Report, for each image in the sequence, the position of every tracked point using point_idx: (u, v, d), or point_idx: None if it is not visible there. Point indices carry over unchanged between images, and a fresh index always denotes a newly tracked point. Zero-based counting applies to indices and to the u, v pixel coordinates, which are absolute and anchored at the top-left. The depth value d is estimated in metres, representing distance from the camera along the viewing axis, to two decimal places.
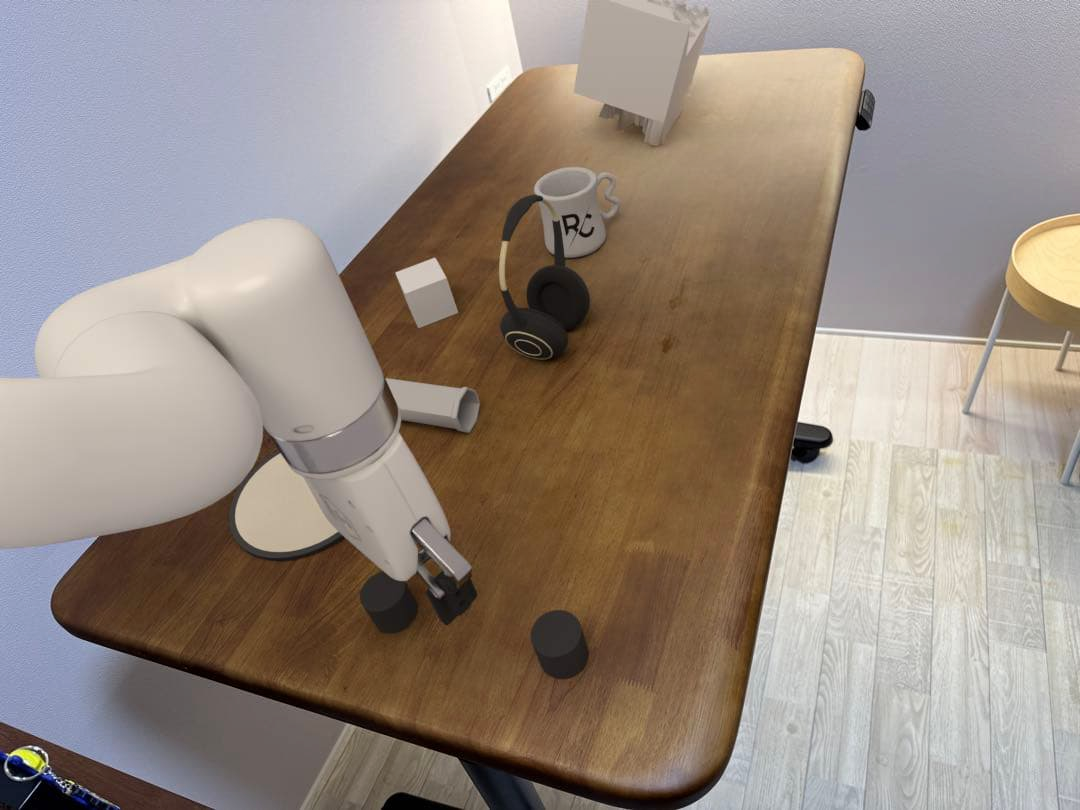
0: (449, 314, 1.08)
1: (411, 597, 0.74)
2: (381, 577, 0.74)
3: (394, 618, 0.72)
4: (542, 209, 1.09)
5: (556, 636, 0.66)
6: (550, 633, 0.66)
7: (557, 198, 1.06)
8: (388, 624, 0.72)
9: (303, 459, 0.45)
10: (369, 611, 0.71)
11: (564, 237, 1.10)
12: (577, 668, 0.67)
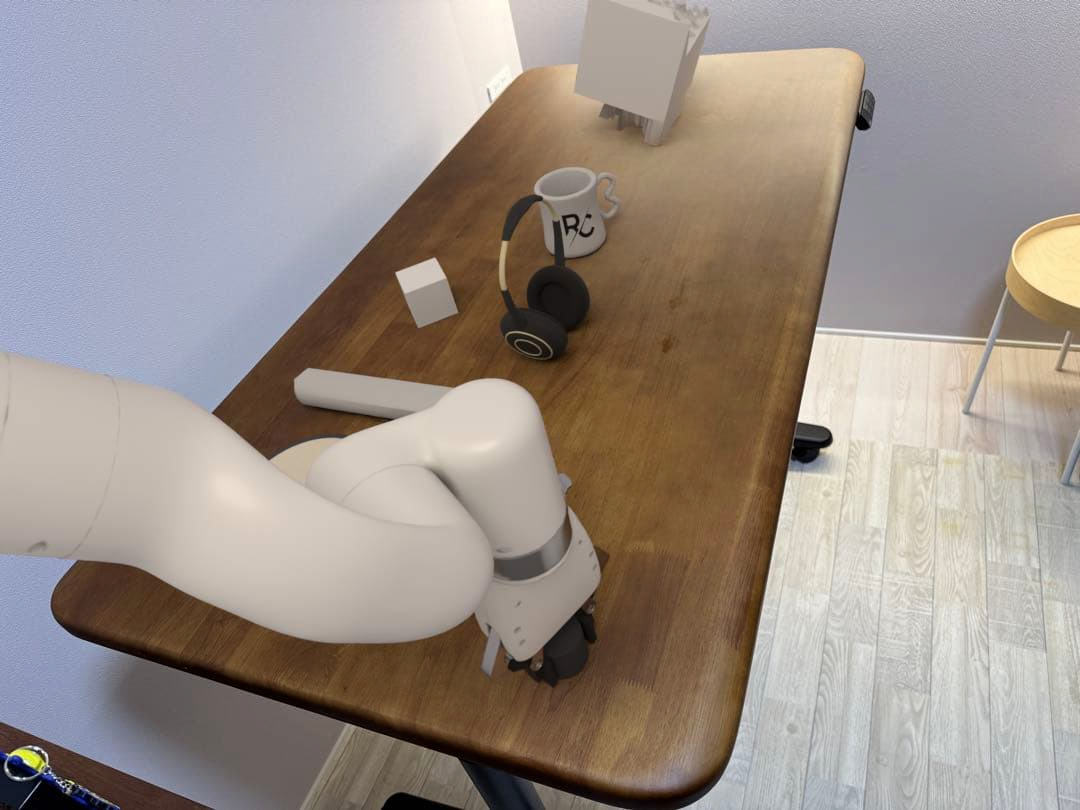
0: (449, 314, 1.08)
1: None
2: None
3: None
4: (542, 209, 1.09)
5: (556, 636, 0.66)
6: None
7: (557, 198, 1.06)
8: None
9: None
10: None
11: (564, 237, 1.10)
12: (577, 668, 0.67)
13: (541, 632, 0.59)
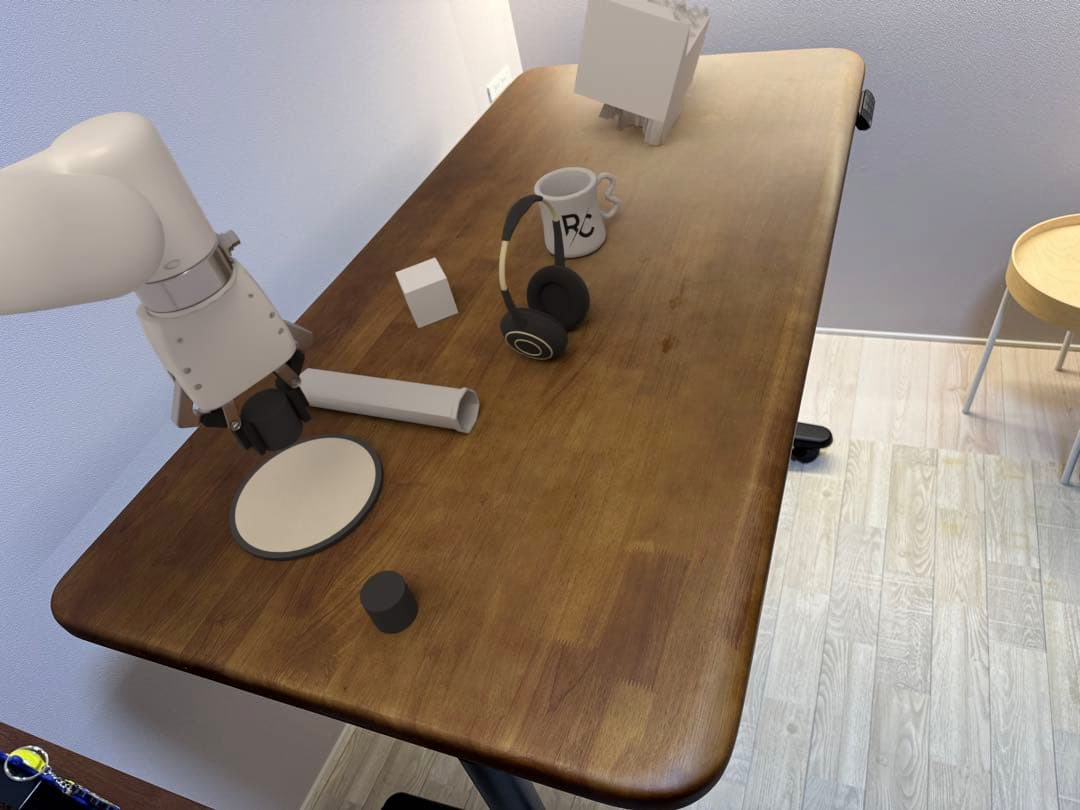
0: (449, 314, 1.08)
1: (411, 597, 0.74)
2: (381, 577, 0.74)
3: (394, 618, 0.72)
4: (542, 209, 1.09)
5: (262, 407, 0.72)
6: (258, 405, 0.72)
7: (557, 198, 1.06)
8: (388, 624, 0.72)
9: None
10: (369, 611, 0.71)
11: (564, 237, 1.10)
12: (285, 439, 0.72)
13: (221, 382, 0.65)
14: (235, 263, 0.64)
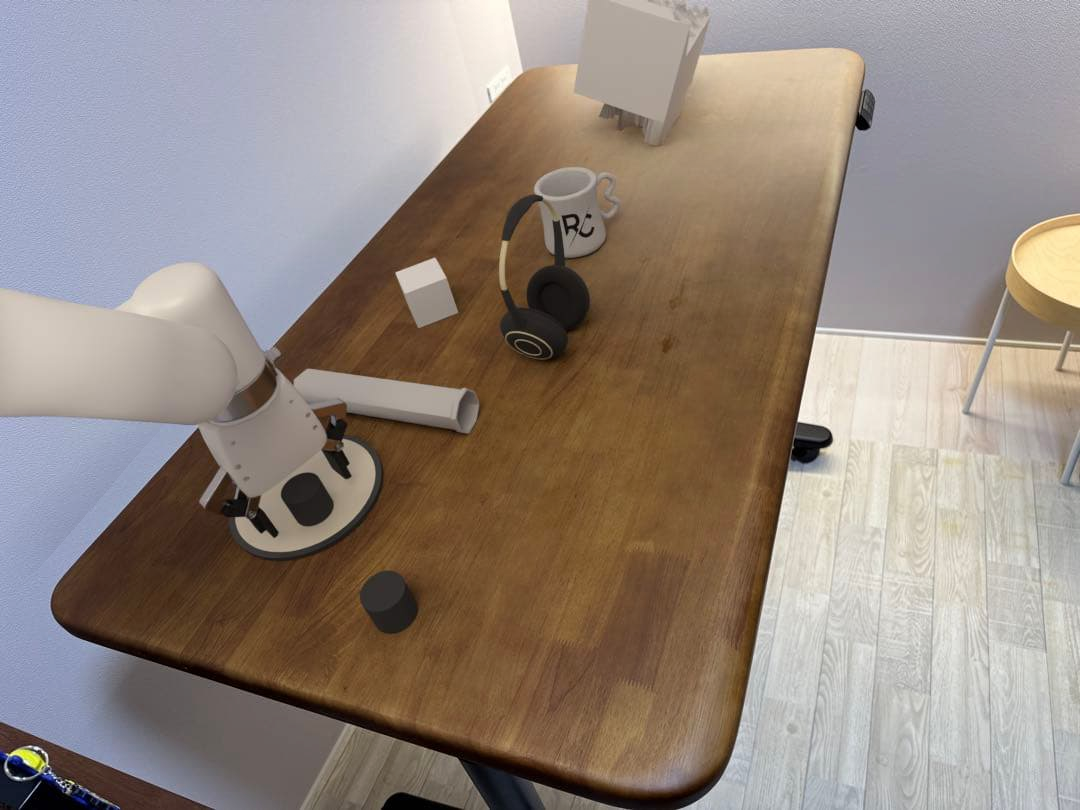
0: (449, 314, 1.08)
1: (411, 597, 0.74)
2: (381, 577, 0.74)
3: (394, 618, 0.72)
4: (542, 209, 1.09)
5: (299, 490, 0.83)
6: (296, 488, 0.84)
7: (557, 198, 1.06)
8: (388, 624, 0.72)
9: None
10: (369, 611, 0.71)
11: (564, 237, 1.10)
12: (319, 517, 0.84)
13: (265, 473, 0.77)
14: (278, 373, 0.76)
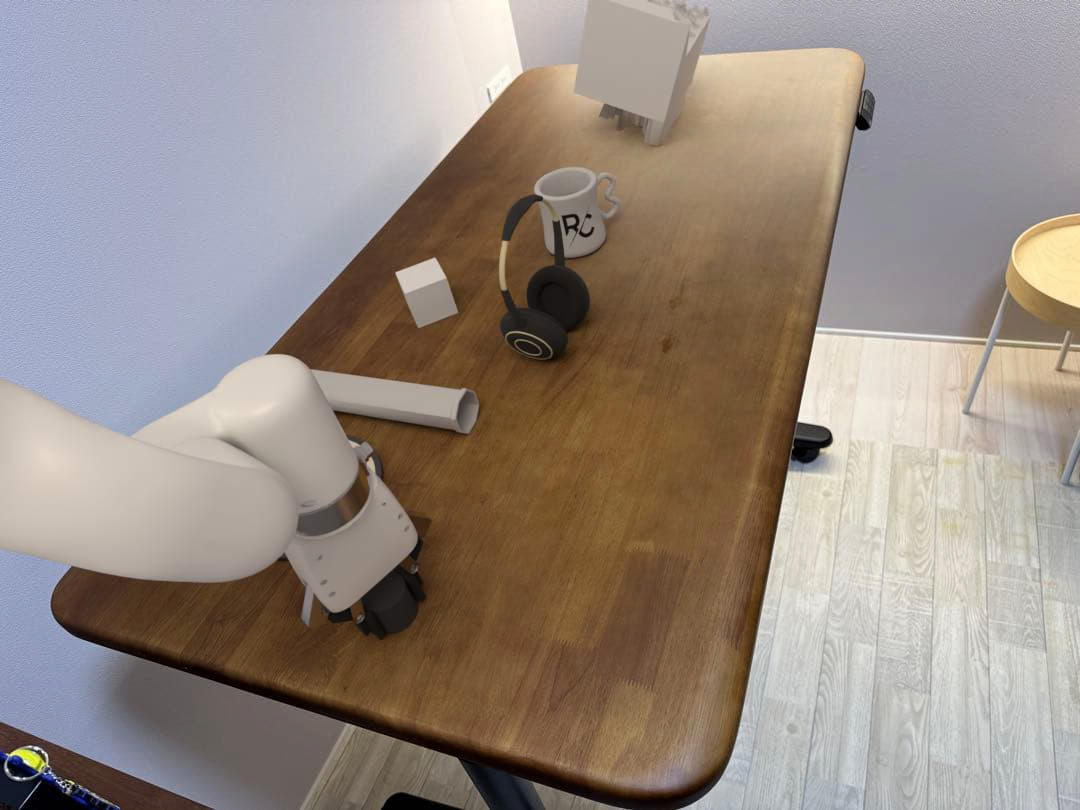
0: (449, 314, 1.08)
1: (411, 597, 0.74)
2: None
3: (394, 618, 0.72)
4: (542, 209, 1.09)
5: None
6: None
7: (557, 198, 1.06)
8: (388, 624, 0.72)
9: None
10: None
11: (564, 237, 1.10)
12: None
13: (352, 586, 0.66)
14: (368, 471, 0.65)
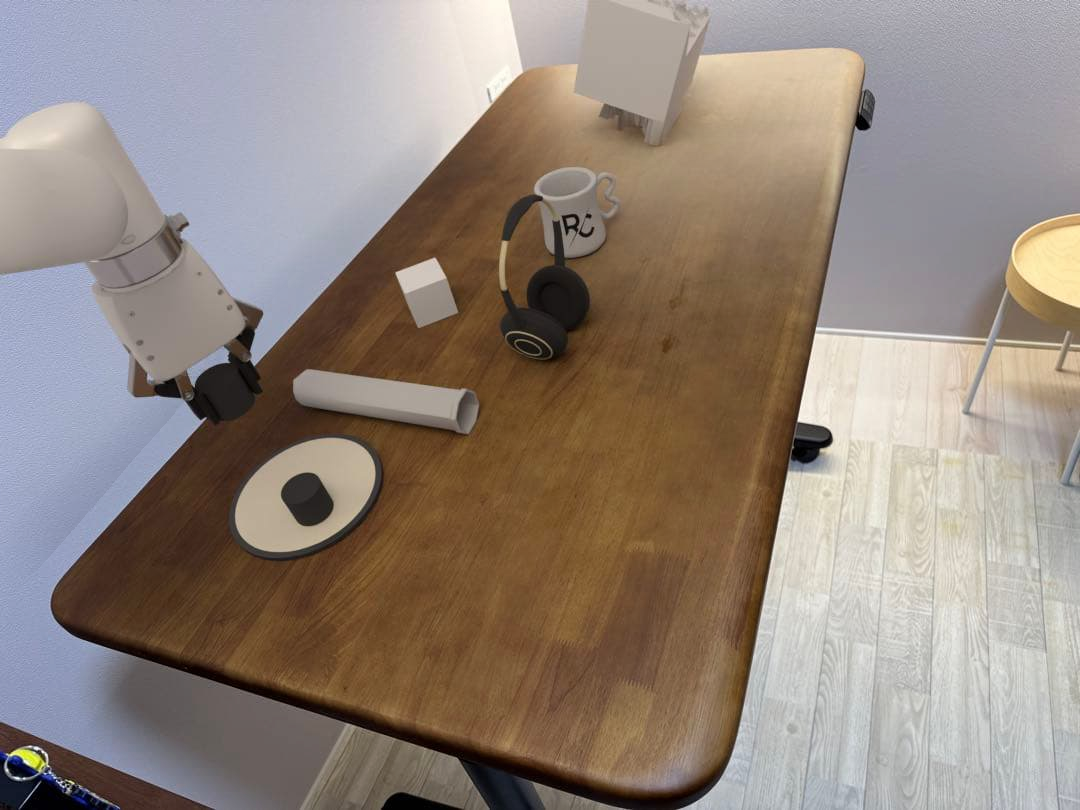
0: (449, 314, 1.08)
1: (246, 387, 0.78)
2: (217, 368, 0.78)
3: (226, 403, 0.77)
4: (542, 209, 1.09)
5: (299, 490, 0.83)
6: (296, 488, 0.84)
7: (557, 198, 1.06)
8: (222, 409, 0.77)
9: None
10: None
11: (564, 237, 1.10)
12: (319, 517, 0.84)
13: (172, 354, 0.71)
14: (185, 243, 0.70)
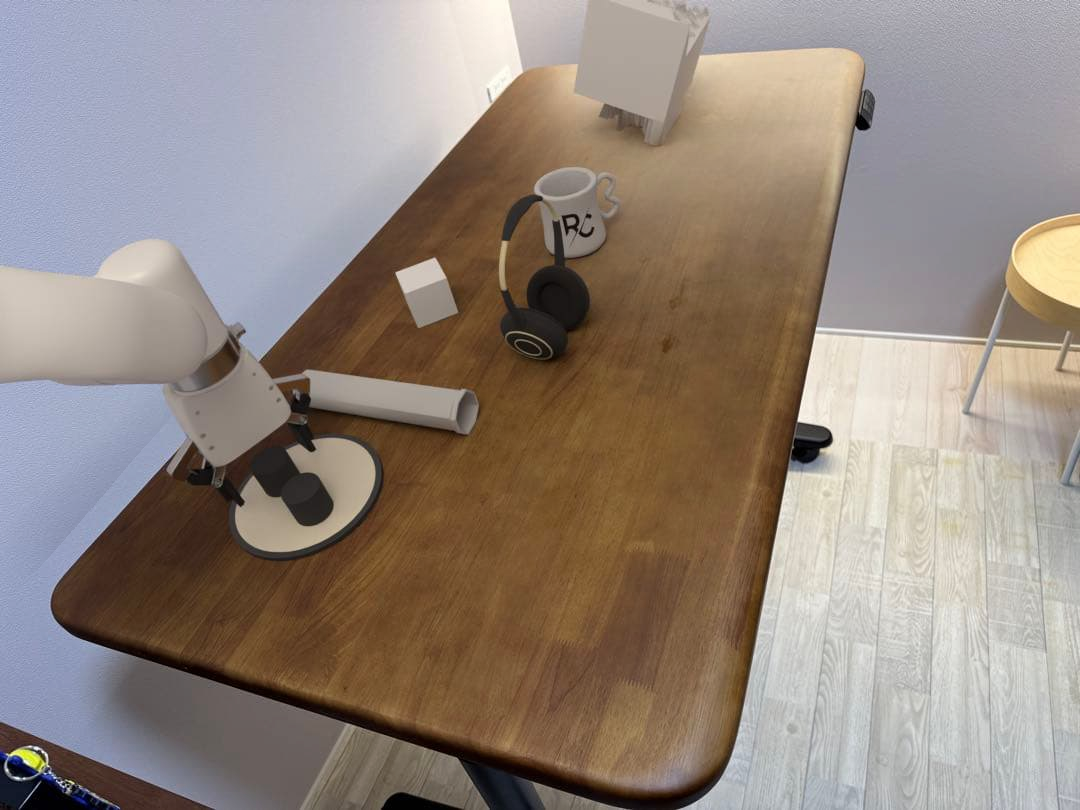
0: (449, 314, 1.08)
1: (293, 467, 0.89)
2: (268, 450, 0.89)
3: (277, 482, 0.87)
4: (542, 209, 1.09)
5: (299, 490, 0.83)
6: (296, 488, 0.84)
7: (557, 198, 1.06)
8: (273, 487, 0.88)
9: None
10: (256, 475, 0.87)
11: (564, 237, 1.10)
12: (319, 517, 0.84)
13: (230, 443, 0.80)
14: (241, 347, 0.80)
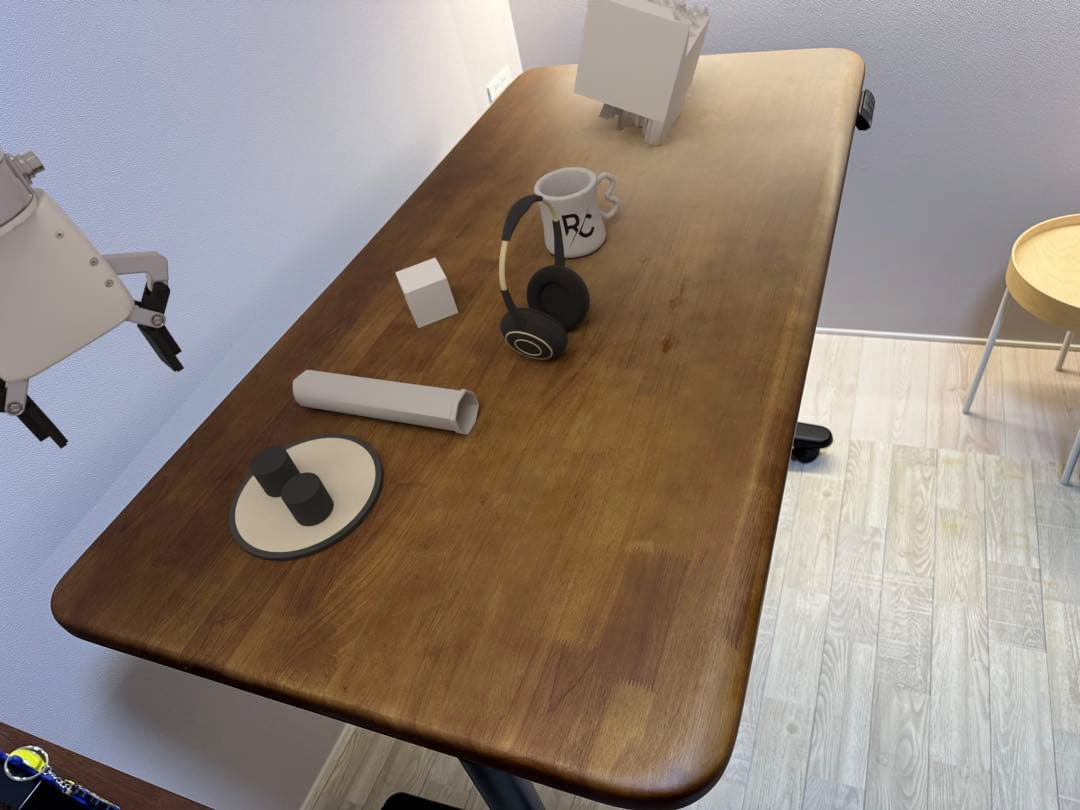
0: (449, 314, 1.08)
1: (293, 467, 0.89)
2: (268, 450, 0.89)
3: (277, 482, 0.87)
4: (542, 209, 1.09)
5: (299, 490, 0.83)
6: (296, 488, 0.84)
7: (557, 198, 1.06)
8: (273, 487, 0.88)
9: None
10: (256, 475, 0.87)
11: (564, 237, 1.10)
12: (319, 517, 0.84)
13: (27, 345, 0.52)
14: (41, 195, 0.51)
